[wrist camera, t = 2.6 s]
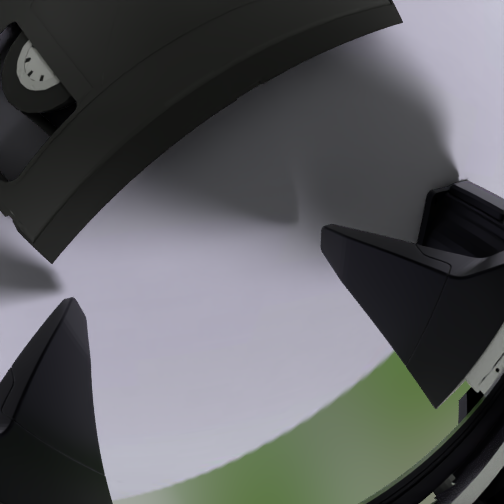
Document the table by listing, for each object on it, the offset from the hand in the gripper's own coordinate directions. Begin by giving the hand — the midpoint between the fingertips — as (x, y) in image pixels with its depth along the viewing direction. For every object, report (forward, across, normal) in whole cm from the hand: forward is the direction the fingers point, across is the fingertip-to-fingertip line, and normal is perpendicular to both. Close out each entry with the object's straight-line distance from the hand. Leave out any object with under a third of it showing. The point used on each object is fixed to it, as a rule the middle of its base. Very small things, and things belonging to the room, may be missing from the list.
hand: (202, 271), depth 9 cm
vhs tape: (+2, 0, -9) cm, 9 cm away
